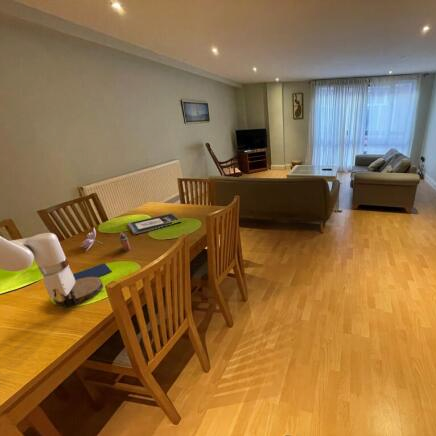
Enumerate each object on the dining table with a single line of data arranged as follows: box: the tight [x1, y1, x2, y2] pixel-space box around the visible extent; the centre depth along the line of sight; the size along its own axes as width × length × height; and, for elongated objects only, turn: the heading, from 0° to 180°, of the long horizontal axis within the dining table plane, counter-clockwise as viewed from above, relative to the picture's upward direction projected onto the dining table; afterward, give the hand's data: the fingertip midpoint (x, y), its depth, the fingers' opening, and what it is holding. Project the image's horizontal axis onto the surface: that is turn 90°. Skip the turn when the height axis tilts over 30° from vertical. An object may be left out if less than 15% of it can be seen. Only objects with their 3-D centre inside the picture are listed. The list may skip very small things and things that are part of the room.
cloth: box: [73, 262, 113, 280], centre depth 116 cm, size 14×12×1 cm
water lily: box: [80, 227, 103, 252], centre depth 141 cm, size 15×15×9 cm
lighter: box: [119, 231, 132, 253], centre depth 137 cm, size 8×3×10 cm, turn 45°
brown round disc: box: [53, 277, 104, 308], centre depth 102 cm, size 16×16×3 cm
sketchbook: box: [126, 213, 179, 235], centre depth 171 cm, size 22×30×2 cm
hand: (72, 305), depth 94 cm, fingers closed
